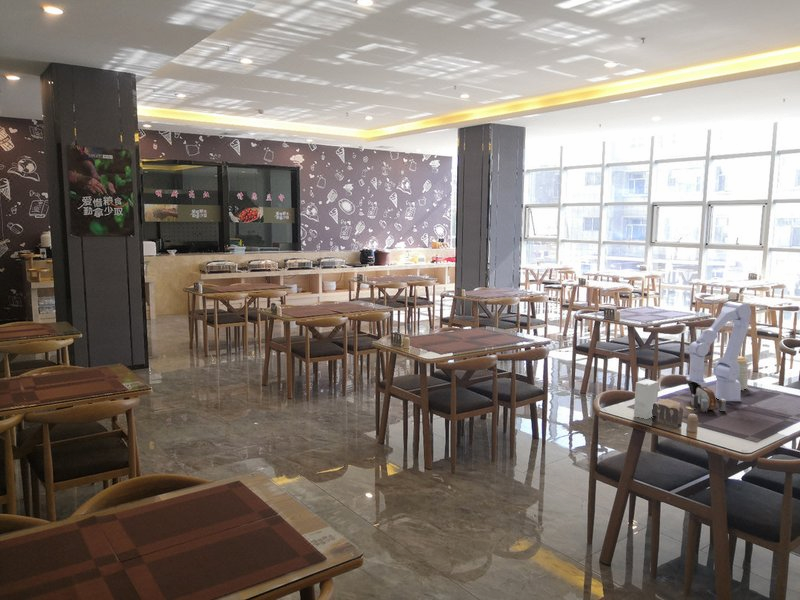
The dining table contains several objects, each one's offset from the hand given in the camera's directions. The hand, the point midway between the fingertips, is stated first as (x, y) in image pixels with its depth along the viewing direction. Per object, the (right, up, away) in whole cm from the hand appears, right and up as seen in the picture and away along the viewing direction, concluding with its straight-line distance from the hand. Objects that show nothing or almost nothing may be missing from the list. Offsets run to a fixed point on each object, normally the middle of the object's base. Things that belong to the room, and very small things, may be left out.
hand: (694, 398), depth 278 cm
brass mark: (-7, -2, -11) cm, 14 cm away
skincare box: (-31, -4, -23) cm, 39 cm away
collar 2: (+1, -3, -15) cm, 15 cm away
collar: (0, -2, -7) cm, 7 cm away
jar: (+29, +1, +24) cm, 38 cm away
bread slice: (0, -2, -9) cm, 9 cm away
